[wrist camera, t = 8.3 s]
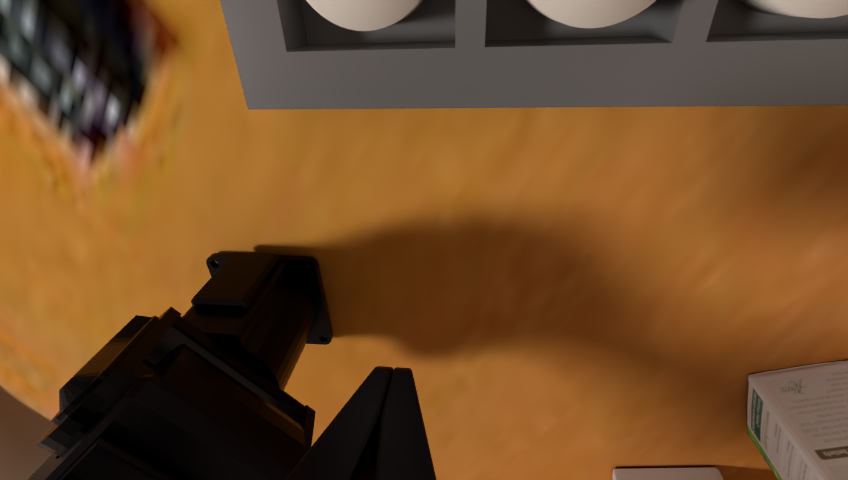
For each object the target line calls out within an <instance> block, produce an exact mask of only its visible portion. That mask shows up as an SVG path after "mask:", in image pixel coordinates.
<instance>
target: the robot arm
mask: <svg viewBox="0 0 848 480" xmlns="http://www.w3.org/2000/svg"><path fill="white" fill-rule="evenodd" d="M215 261H216V262H218V263H216V262H215ZM206 263H207V266H208V269H209V271H210V274H211V277H212V278H211V279H210V280H209V281H208V282H207V283H206V284H205V285H204V286H203V287H202V289H201V290H200V291H199V292H198V293H197V294H196V295H195V296H194V297H193V299H192V300H191V302H192V305H193V306H192V307H191V308H190V309H189V310H188V311H187V312H186V314H185V315H184V316H183V317H181V316H180V315H181V313H179V312H178V311H176V310H175V309H174V308H172V307H170V308H169V309H168V310H167V311H166V312H164V313H163V314H162V315H161V316H160V317H159V318H158V317H156V316H153V317H145V316H137V315H136V316H135V317H134V318H133V319H132V320H131V321H130V322H129V323H128V324H127V325H126V326H125V327H124V328H122V329H121V330H120V331H119V332H118V333H117V334H116V335H115V336H114V337H113V338H112V339H111V340H110V341H109V342H108V343H107V344H106V345H105V346H104V347H103V348H102V349H101V350H100V351H99V352H98V353H97V354H96V355H95V356H94V357H92V358H91V359H90V360H89V361H88V362H87V363H86V364H85V365H84V366H83V367H82V368H81V369H80V370H79V371H78V372H77V373H76V374H75V375H74V376H73V377H72V378H71V379H70V380H69V381H68V382H67V383H66V384H65V385H64V386H63V387H62V388H61V389H60V390H59V406H60V411H59V412H58V413H57V414H56V416H55V417H54V418H53V419H52V420H51V422H52V423H54V424H53V426H52V427H51V428H50V429H49V430H48V432H47V433H46V434H45V435H44V436H43V437H42V439H41V440H40V441H39V442H38V444H37V446H39V447H41V448H43V449H45V450H47V451H48V452H50V453H52V454H51V455H50V456H49V457H48V458H47V459H46V460H45V461H44V462H43V463H42V465H41V466H40V467H39V468H38V469H37V470H36V471H35V472H34V473H33V474H32V475H31V476H30V477H29V479H28V480H436V476H435V471H434V467H433V462H432V458H431V453H430V449H429V445H428V440H427V436H426V431H425V427H424V422H423V418H422V413H421V409H420V404H419V400H418V395H417V391H416V387H415V382H414V378H413V373H412V370H411V369H410V368H398V367H397V368H395V369H393V368H392V367H382V366H377V367H375V368H374V369H373V371H372V372H371V373H370V374H369V376H368V377H367V378H366V379H365V381H364V382H363V383H362V384H361V386H360V387H359V388H358V389H357V391H356V392H355V393H354V394H353V396H352V397H351V398H350V399H349V401H348V402H347V403H346V404H345V406H344V407H343V408H342V409H341V411H340V412H339V413H338V414H337V416H336V417H335V418H334V419H333V421H332V422H331V423H330V424H329V426H328V427H327V428H326V429H325V431H324V432H323V433H322V434H321V436H320V437H319V438H318V439H317V441H316V442H315V443H314V444H313V446H312V447H311V444H312V436H313V428H314V420H315V411H314V410H313V409H311V408H310V407H309V406H307V405H306V406H304V405H303V404H301V403H300V402H299V401H297V400H296V399H294V398H293V397H292V396H290V395H289V394H287V393H286V392H285V391H284V388H285V386H286V384H287V382H288V380H289V378H290V376H291V374H292V372H293V370H294V367H295V365H296V363H297V361H298V359H299V357H300V355H301V353H302V351H303V348H304V346H305V344H324V345H325V344H329V343H330V342H331V340H332V337H333V333H332V328H331V323H330V318H329V314H328V309H327V304H326V299H325V294H324V289H323V284H322V280H321V275H320V270H319V265H318V262H317V261H316V260H315V259H314V258H313V257H309V256H283V255H274V254H249V253H234V254H222V253H215V254H212V255H211V256H210V257H209V258H208V259H207V261H206ZM306 264H309V265H310V266H311V267H308V266H307V265H306ZM324 336H325V337H324Z"/></svg>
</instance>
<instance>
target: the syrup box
mask: <svg viewBox="0 0 848 480" xmlns="http://www.w3.org/2000/svg"><path fill="white" fill-rule="evenodd" d="M748 382H749V387H748V402H747V432H748V434H749V436H750V437H751V439H752V440H753V442H754V443H755V445H756V446H757V448H758V450H759V451H760V453H761V454H762V456H763V457H764V459H765V461H766V462H767V464H768V465H769V467H770V468H771V470H772V471H773V473H774V474H775V476H776V478H777V479H778V480H848V360H847V361H837V362H828V363H820V364H813V365H806V366H799V367H794V368H787V369H781V370H775V371H768V372H763V373H757V374H750V375H749V376H748Z"/></svg>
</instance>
